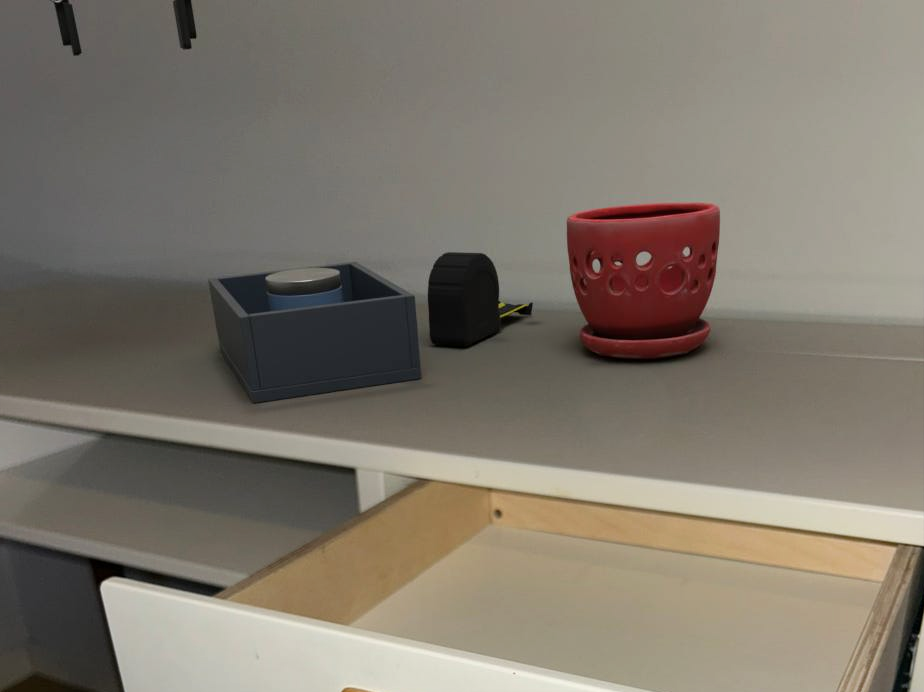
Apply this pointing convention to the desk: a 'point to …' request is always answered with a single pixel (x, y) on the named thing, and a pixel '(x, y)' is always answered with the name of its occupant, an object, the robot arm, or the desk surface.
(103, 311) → the desk surface
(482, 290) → the tape measure
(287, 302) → the can
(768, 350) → the desk surface
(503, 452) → the desk surface
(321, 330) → the dark blue open box
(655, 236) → the flower pot
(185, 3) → the robot arm
